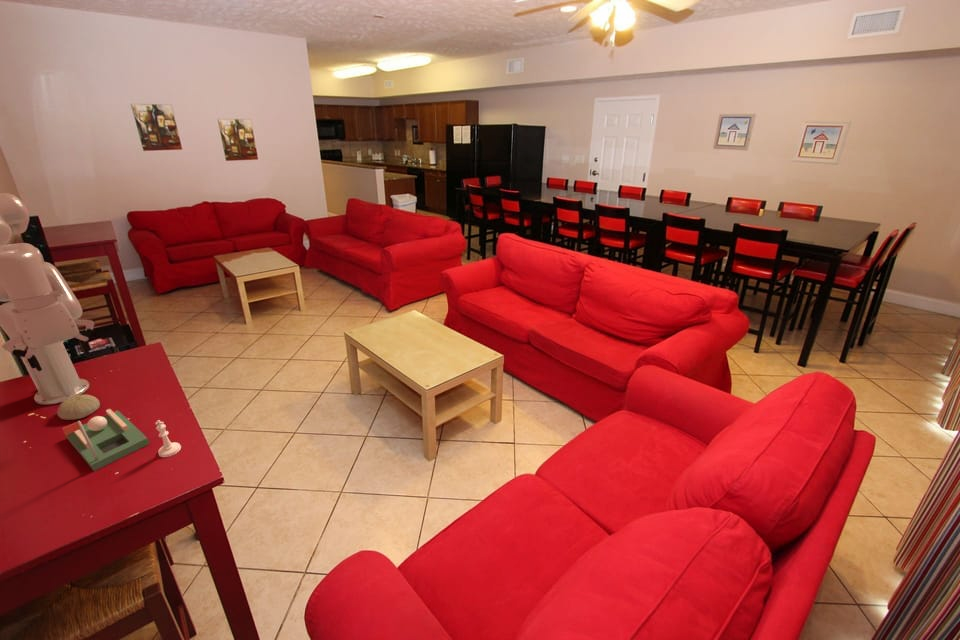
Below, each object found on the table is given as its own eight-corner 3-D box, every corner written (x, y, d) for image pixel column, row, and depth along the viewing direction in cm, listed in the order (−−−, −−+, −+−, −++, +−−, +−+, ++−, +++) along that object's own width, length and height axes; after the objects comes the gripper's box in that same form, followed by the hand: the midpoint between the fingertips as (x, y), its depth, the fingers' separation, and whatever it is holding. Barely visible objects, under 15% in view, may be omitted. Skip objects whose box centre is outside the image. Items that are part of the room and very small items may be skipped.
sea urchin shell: (78, 419, 119) (53, 400, 117) (70, 432, 122) (46, 413, 121) (109, 400, 127) (87, 382, 125) (101, 412, 130) (79, 395, 129)
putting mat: (59, 441, 113) (37, 398, 107) (120, 415, 124) (103, 375, 117) (86, 474, 103) (63, 430, 97) (149, 443, 114) (132, 401, 107)
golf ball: (88, 430, 115) (82, 418, 113) (106, 422, 118) (101, 411, 116) (93, 436, 113) (87, 424, 111) (111, 428, 116) (106, 416, 114)
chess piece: (175, 456, 110) (164, 426, 105) (154, 458, 109) (142, 427, 105) (184, 443, 114) (173, 413, 110) (164, 445, 113) (152, 415, 109)
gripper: (75, 287, 111) (99, 344, 118) (-20, 308, 98) (13, 371, 105) (85, 293, 107) (109, 352, 115) (-13, 316, 94) (21, 380, 102)
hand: (63, 361), depth 110 cm, fingers open, 9 cm apart
